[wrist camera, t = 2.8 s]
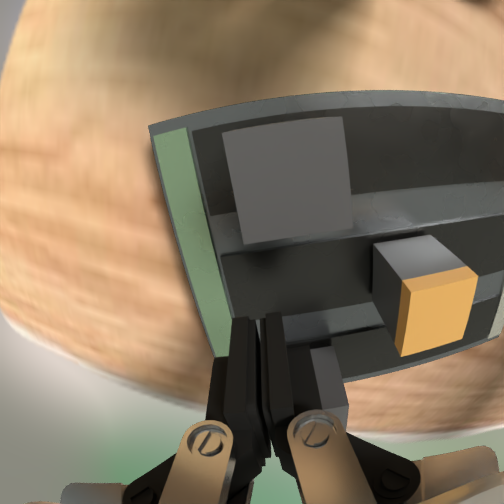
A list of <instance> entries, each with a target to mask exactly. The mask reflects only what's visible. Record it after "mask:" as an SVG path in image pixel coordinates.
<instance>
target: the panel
mask: <svg viewBox="0 0 504 504" xmlns="http://www.w3.org/2000/svg"><path fill="white" fill-rule="evenodd" d="M323 117H342V119H343V126H344V133H345V141H346V149H347V158H348V167H349V178H350V189H351V202H352V217H353V228H352V229H345V230H338V231H331V232H325V233H318V234H311V235H304V236H298V237H291V238H284V239H278V240H271V241H264V242H258V243H251V244H245V245H244V242H243V237H242V232H241V227H240V222H239V217H238V212H237V207H236V202H235V197H234V192H233V187H232V182H231V177H230V172H229V167H228V162H227V157H226V152H225V147H224V142H223V137H222V133H224V132H228V131H232V130H235V129H241V128H247V127H252V126H258V125H265V124H271V123H278V122H285V121H293V120H301V119H310V118H323ZM148 128H149V133H150V137H151V142H152V147H153V151H154V155H155V160H156V164H157V168H158V172H159V177H160V181H161V185H162V189H163V193H164V197H165V200H166V204H167V208H168V212H169V216H170V219H171V223H172V227H173V230H174V234H175V237H176V241H177V244H178V248H179V251H180V255H181V258H182V261H183V265H184V268H185V271H186V275H187V278H188V281H189V284H190V288H191V291H192V294H193V297H194V300H195V303H196V306H197V309H198V312H199V315H200V318H201V321H202V324H203V327H204V330H205V333H206V336H207V339H208V342H209V344H210V347H211V350H212V353H213V356H214V358H215V357H223V356H229V345H230V335H231V325H232V318H236V317H244V316H249V319H250V320H253V319H255V320H256V325H257V329H258V334H259V338H260V318H266V317H265V314H266V313H272V312H279V311H281V313H282V320H283V326H284V333H285V340H286V346H287V348H293V347H300V346H306V345H309V347H310V349H316V348H322V347H328V346H334V349H335V353H336V357H337V361H338V364H339V368H340V372H341V376H342V380H343V383H347V382H352V381H357V380H361V379H366V378H370V377H375V376H379V375H383V374H387V373H391V372H395V371H399V370H403V369H407V368H410V367H414V366H417V365H421V364H424V363H427V362H431V361H434V360H437V359H440V358H443V357H446V356H449V355H452V354H455V353H458V352H461V351H464V350H466V349H469V348H472V347H474V346H477V345H480V344H482V343H485V342H487V341H490V340H492V339H494V338H497V337H499V335H500V333H501V331H502V328H503V325H504V101H503V100H498V99H492V98H486V97H479V96H471V95H463V94H453V93H442V92H428V91H405V90H365V91H341V92H326V93H314V94H304V95H295V96H286V97H279V98H272V99H265V100H258V101H252V102H246V103H241V104H235V105H230V106H225V107H220V108H215V109H211V110H206V111H202V112H197V113H193V114H189V115H185V116H181V117H177V118H174V119H170V120H166V121H163V122H159V123H156V124H152V125H149V126H148ZM424 235H431V236H433V237H434V238H435V239H436V240H438V241H439V242H440V243H441V244H442V245H444V246H445V247H446V248H447V249H448V250H450V251H451V252H452V253H453V254H454V255H455V256H456V257H458V258H459V259H460V260H461V261H462V262H463V263H464V264H466V265H467V266H468V267H469V268H470V269H471V270H472V271H473V272H474V273H475V274H477V275H478V280H477V285H476V289H475V294H474V298H473V302H472V306H471V310H470V314H469V318H468V321H467V325H466V328H465V331H464V335H463V338H462V339H460V340H457V341H454V342H451V343H448V344H445V345H442V346H438V347H435V348H432V349H428V350H425V351H421V352H418V353H414V354H411V355H407V356H403V357H401V356H400V354H399V352H398V350H397V348H396V346H395V344H394V342H393V340H392V338H391V336H390V334H389V332H388V330H387V328H386V326H385V324H384V322H383V320H382V318H381V316H380V314H379V313H378V311H377V309H376V307H375V305H374V303H373V301H372V290H373V244H374V243H381V242H387V241H393V240H400V239H406V238H412V237H418V236H424Z"/></svg>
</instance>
